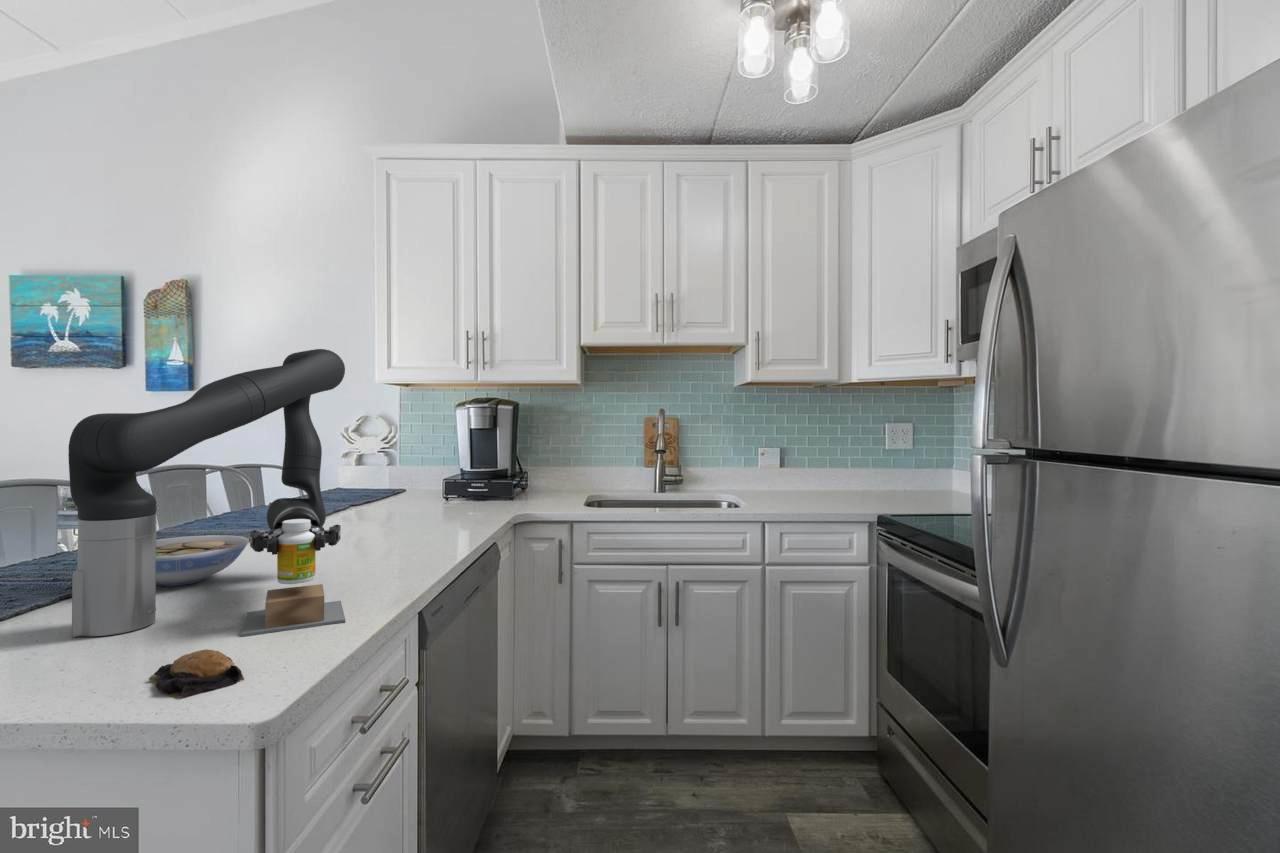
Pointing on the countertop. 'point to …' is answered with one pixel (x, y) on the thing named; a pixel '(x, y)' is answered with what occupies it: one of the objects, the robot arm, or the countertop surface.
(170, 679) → the bread roll
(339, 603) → the mat
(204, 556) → the ramen bowl
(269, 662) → the countertop surface
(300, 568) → the supplement bottle
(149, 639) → the countertop surface
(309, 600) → the walnut block
